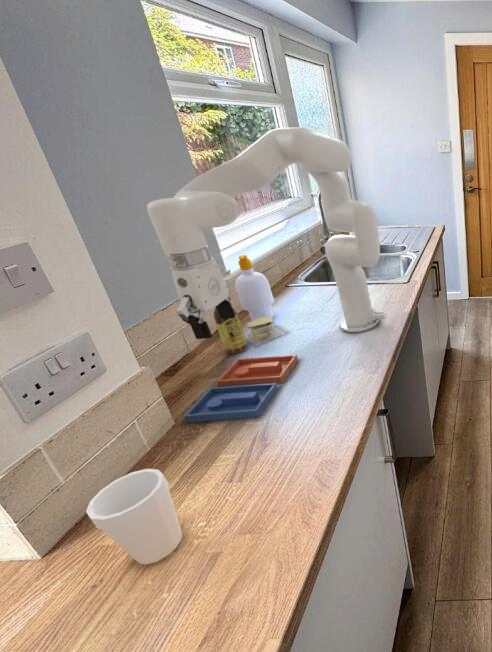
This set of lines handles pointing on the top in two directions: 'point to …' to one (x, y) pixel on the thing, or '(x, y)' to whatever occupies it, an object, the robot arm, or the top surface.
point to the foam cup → (138, 515)
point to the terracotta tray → (232, 380)
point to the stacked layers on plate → (262, 331)
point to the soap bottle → (254, 291)
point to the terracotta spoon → (258, 369)
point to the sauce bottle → (231, 333)
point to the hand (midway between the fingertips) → (217, 327)
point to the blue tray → (232, 412)
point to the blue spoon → (233, 400)
